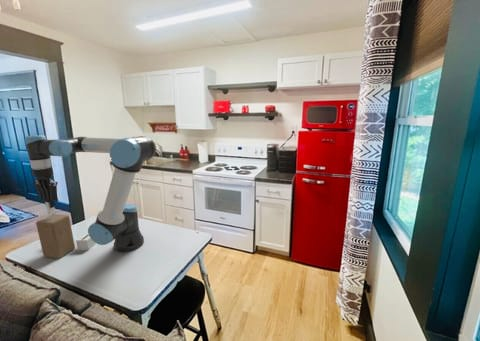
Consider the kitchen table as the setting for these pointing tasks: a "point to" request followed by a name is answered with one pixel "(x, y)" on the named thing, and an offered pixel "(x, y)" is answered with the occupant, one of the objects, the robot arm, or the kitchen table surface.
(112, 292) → the kitchen table surface
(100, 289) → the kitchen table surface
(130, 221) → the robot arm
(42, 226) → the wooden block
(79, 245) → the grey marked cube
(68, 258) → the kitchen table surface
